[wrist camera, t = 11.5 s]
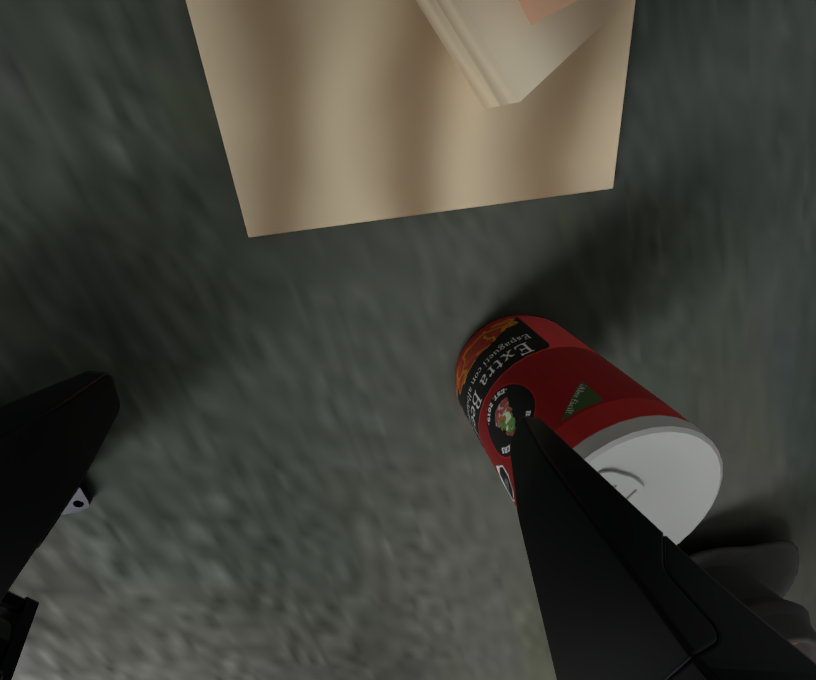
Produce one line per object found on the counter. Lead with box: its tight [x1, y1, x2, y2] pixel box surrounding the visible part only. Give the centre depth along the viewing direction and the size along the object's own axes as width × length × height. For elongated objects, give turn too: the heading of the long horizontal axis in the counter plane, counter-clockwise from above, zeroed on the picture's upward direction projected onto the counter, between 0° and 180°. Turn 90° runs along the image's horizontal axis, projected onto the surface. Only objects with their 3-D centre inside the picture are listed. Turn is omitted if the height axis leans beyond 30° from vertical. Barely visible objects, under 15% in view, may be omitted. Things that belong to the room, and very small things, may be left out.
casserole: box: [688, 540, 816, 663], centre depth 38 cm, size 25×19×8 cm
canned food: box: [455, 315, 722, 545], centre depth 21 cm, size 8×8×11 cm
